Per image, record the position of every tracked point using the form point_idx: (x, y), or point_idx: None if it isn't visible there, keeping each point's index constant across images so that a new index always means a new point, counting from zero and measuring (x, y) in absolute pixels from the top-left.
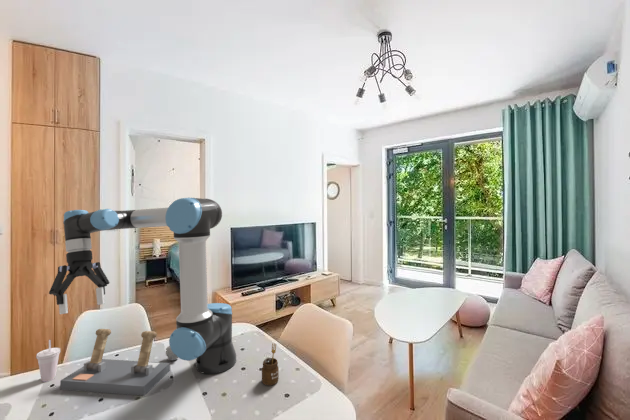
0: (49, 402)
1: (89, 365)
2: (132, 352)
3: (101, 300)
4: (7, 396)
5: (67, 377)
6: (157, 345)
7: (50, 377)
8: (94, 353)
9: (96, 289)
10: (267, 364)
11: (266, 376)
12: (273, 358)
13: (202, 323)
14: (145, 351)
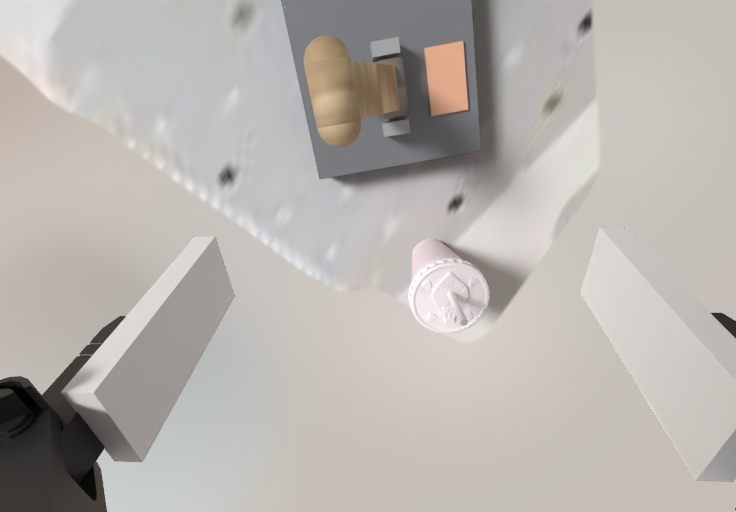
0: (537, 103)
1: (406, 102)
2: (184, 127)
3: (202, 273)
4: (528, 271)
5: (458, 146)
6: (80, 61)
7: (439, 242)
8: (387, 98)
9: (150, 437)
10: None
11: None
12: None
13: None
14: None
